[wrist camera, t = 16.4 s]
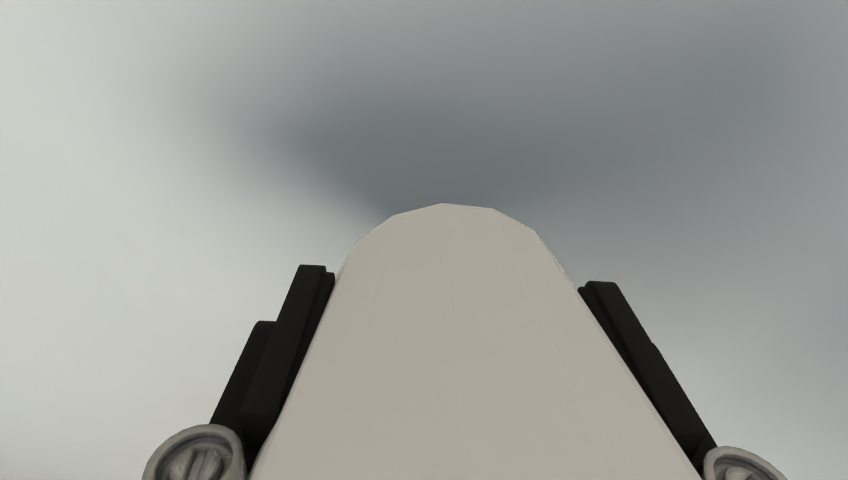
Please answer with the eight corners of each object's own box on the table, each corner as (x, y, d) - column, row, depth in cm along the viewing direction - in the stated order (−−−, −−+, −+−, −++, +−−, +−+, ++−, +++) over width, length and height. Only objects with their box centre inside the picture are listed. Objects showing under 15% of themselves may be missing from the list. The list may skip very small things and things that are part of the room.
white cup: (285, 370, 12) (158, 752, 6) (342, 133, 9) (189, 466, 3) (518, 420, 14) (598, 785, 8) (646, 226, 10) (971, 602, 4)
